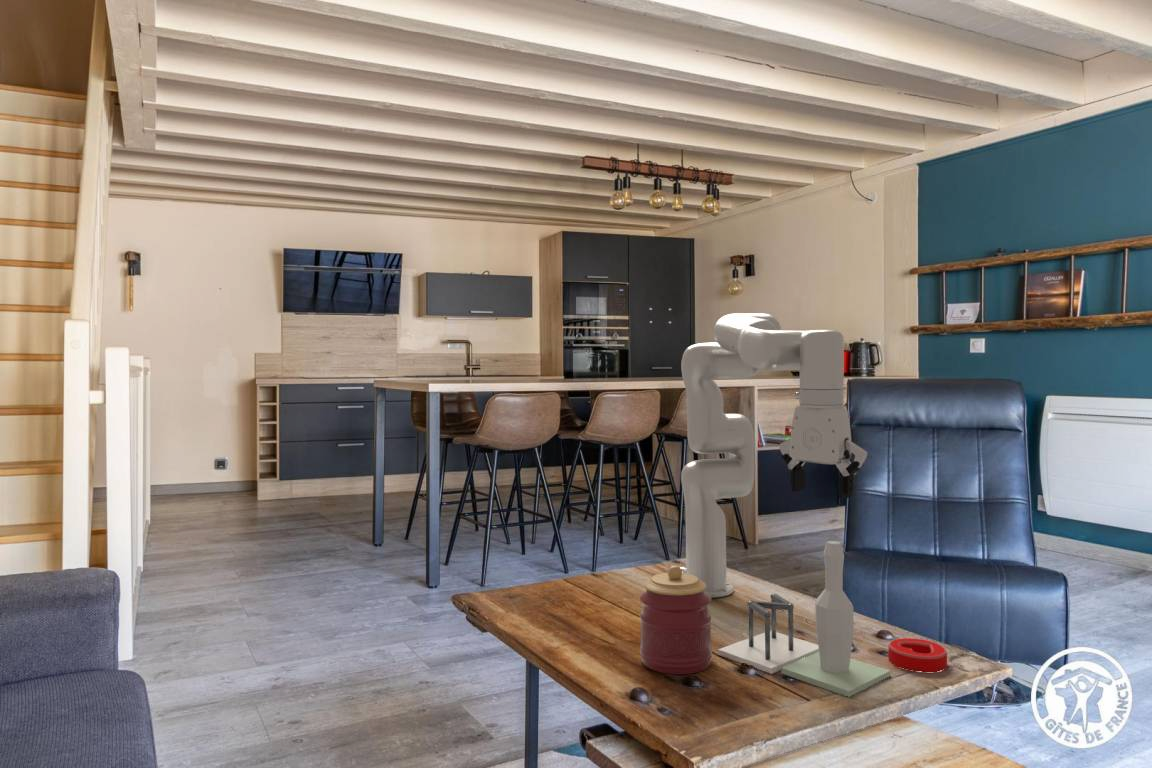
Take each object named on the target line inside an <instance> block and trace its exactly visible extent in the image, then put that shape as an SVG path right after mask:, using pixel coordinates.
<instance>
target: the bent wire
mask: <svg viewBox="0 0 1152 768" xmlns="http://www.w3.org/2000/svg"><path fill="white" fill-rule="evenodd" d="M747 606H748V638H749V647H754V636H755V634H754V633H755V632H754V620H755V619H754V612H755V613H757V614H758V615H760V616H761V617H762V618H764V633H765V659H766V660H770V630H771V633H772V638H776V632H777V610H781V611H787V620H788V621H787V622H788V623H787V627H788V628H787V629H788V630H787V631H788V634H787V635H788V650H790V651H793V637H794V609H795V605H794V604H793V603H792V602H790V601H788V600H787V599H786V598H783V597H782V596H780V595H779V594H777V593H771V594H770V601H763V600H762V601H761V600H749V601H748V602H747ZM767 609H768V610H767Z"/></svg>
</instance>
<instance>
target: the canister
mask: <svg viewBox="0 0 1152 768" xmlns="http://www.w3.org/2000/svg"><path fill="white" fill-rule="evenodd" d="M680 567H681V566H679V565H671V566H669V568H668V569H667V572H661V573H657V574H655V575H653V576H652V577H651V578H649V579H647V580H646V581H645V582H644V583H643V586H644V589H645V591H642V593H641V594H640V595H639V601H640V602H641V604H642V610H641V612H640V613H639V618H640V646H639V649H640V652H639V654H640V657H641V663H642V664H643V665H644V666H645V667H646V668H648V669H650V670H652V671H655V672H659V673H663V674H670V675H688V674H689V675H690V674H695V673H699V672H701V671H704V670H706V669H707V668H709V666H710V665H711V659H712V658H713V655H712V647H711V646H712V645H711V643H712V641H711V637H712V636H711V634H712V633H711V628H712V627H711V621H712V615H711V614H710V612H709V605H710V604H711V602H712V598H711V597H710V596H709V595H708V594H707V593H705V591H704V590H705V589H706V584H705V583H704V582H703V581H701V580H699V579H698V578H697V577H696V576H694V575H691V574H686V573H682V570H681V568H680Z"/></svg>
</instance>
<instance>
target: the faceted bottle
mask: <svg viewBox="0 0 1152 768" xmlns="http://www.w3.org/2000/svg"><path fill="white" fill-rule="evenodd" d="M844 560H845V554H844V551H843V547H842V544H841V541H836V540H829V541H828V540H827V541H826V543H825V546H824V550H823V561H824V573H825V576H824V577H825V578H824V583H825V585H824V586H825V588H824V589H823V591H822V592H821V593H820V594H819V596H818V597H817V598H816V599H815V602H814V603H815V610H814V612H815V614H814V615H815V619H814V623H815V629H816V631H815V632H816V639H817V645H818V648H819V656H820V664H821V669H822V670H824V671H826V672H828V673H836V674H842V673H846V672H849V664H850V658H851V655H852V646H853V639H854V627H855V626H854V606H853V603H852V602H851V600H850V599H849V597H848V596H847V594H846V593H845V591H844V589H843V587H844V586H843V585H844V581H843V580H844V579H843V577H844V576H843V574H844V573H843V572H844V563H845V561H844Z"/></svg>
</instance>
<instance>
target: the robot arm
mask: <svg viewBox="0 0 1152 768" xmlns="http://www.w3.org/2000/svg"><path fill="white" fill-rule="evenodd" d="M713 337H714V340H715V341H714V342H711V341H710V342H700V343H695V344H691V345H690V346H688V347H686V349H685V350H684V352H683V354H682V358H681V363H680V365H681V366H680V367H681V368H680V370H681V377H682V381H683V384H684V389H685V391H686V392H685V393H686V398H687V400H686V401H687V402H686V404H687V405H686V409H687V411H686V414H687V415H686V417H687V418H686V421H687V423H686V425H687V427H686V428H687V433H686V434H687V443H688V448H689V449H690V450H691V451H692V452H694V453H695V454H701V455H714V454H728V457H729V458H706V459H704V458H703V459H697V460H692V461H690V462H688V463H687V464H685V465H684V466H683V468H682V470H681V473H680V474H681V475H680V480H681V486H682V491H683V499H684V509H685V511H684V512H685V567H684V566H679V567H680V568H681V570H682V573H686V574H691V575H694V576H696V577H697V578H698V579H699V580H701V581H703V582H704V583H705V584H706V589H705V590H704V591H705V593H707V594H708V595H709V596H710V597H711V599H713V598H715V599H716V598H722V597H726V596H730V595H731V594H733V592H734V587H733V585H732V584H731V583H729V582H727V527H726V526H727V524H726V523H727V522H726V516H725V513H724V511H723V510H722V508H721V507H720V506H719V504H718V503H717V501H716V500H721V499H730V498H731V499H732V498H735V499H736V498H742V497H746V496H748V495H749V494H751V492H752V490H753V487H754V484H755V483H754V482H755V432H754V427H753V425H752V423H751V421H750V420H749V418H748V417H747V416H745V415H743V414H741V413H725V412H724V397H723V396H724V395H723V392H722V390H721V389H720V387H719V386H718V384H717V383H716V382H715V380H716V379H718V380H733V379H734V380H740V379H741V380H742V379H743V380H744V379H750V378H753V377H754V376H756V375H757V374H758V373H760V371H761V370H762V371H768V372H769V371H770V372H771V371H773V372H774V371H776V372H777V371H799V389H798V391H796V392H795V393H794V398H795V399H796V400H799V401H798V402H799V405H796V406H795V408H794V410H793V411H794V412H793V417H792V421H791V429H790V437H789V439H787V440H784V441H783V442H781V443H780V444H779V445H778V448H779V450H780V452H781V454H782V459H783V460H784V462H785V464H787V468H788V470H790V485H791V491H792V492H795V493H796V492H801V491H804V490H805V487H806V486H805V483H806V481H805V480H806V479H805V476H806V474H805V473H806V471H805V468H803V466H805V463H812V464H821V465H835V466H836V468H837V469H838V470H839V472H840V473H841V475H839V477H838V498H839V499H841V500H844V499H850V498H852V497H853V494H854V475H856V474H857V473H858V471H859V470H860V469H861V468H863V466H864V463H865V461H866V459H867V457H868V451H867V450H865V449H864V448H862V447H861V446H859V445H858V444H856V443H854V442H853V441H852V431H851V424H850V422H851V421H850V417H849V412H848V409H847V407H845V406H844V405H845V404H844V403H845V402H844V397H845V396H844V391H845V390H844V386H845V385H844V384H845V383H844V382H845V381H844V379H845V378H844V377H845V374H844V373H845V371H844V370H845V364H844V363H845V355H844V354H845V350H844V349H845V339H844V335H843V333H842V332H841V331H838V330H836V329H816V330H815V329H812V330H787V329H786V330H785V329H784V330H783V329H782V327H781V324H780V322H779V320H778V319H777V318H776V317H774V315H772V314H769V313H761V312H760V313H759V312H758V313H756V312H755V313H754V312H753V313H750V312H749V313H747V312H746V313H744V312H740V313H739V312H736V313H735V312H734V313H728V314H726V315H723V316H722V317H720V318H719V319H718V320H717V321H716V323H715V325H714V328H713ZM714 379H715V380H714ZM852 454H853V455H854V460H853V461H850V460H851V459H852Z"/></svg>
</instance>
